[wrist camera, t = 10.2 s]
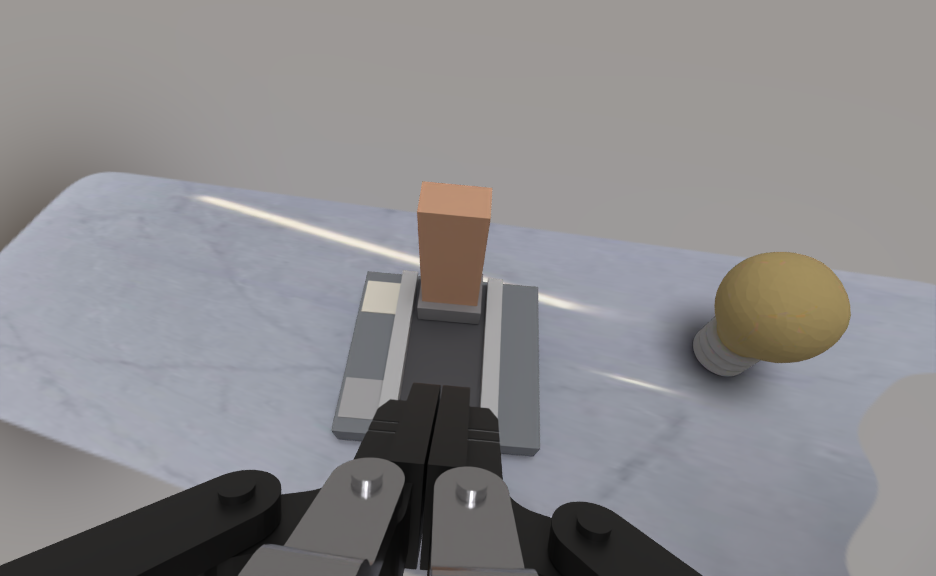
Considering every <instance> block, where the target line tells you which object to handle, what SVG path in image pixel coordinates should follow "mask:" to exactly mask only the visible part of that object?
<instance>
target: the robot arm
mask: <svg viewBox="0 0 936 576" xmlns="http://www.w3.org/2000/svg"><path fill="white" fill-rule="evenodd" d="M440 395H441V398H440ZM469 405H470V388H469V387H459V386H448V385H443V388H442V393H441V385H436V384H425V383H414V382H413V384H412V387H411V390H410V392H409V395H408V398H407V401H404V400H394V399H390V400H389V401H387V402H386V403H384V404H383V405H382V406H380V407H379V408H378V409H377V411H376V413H375V415H374V417H373V420H372V422H371V424H370V426H369V428H368V431H367V432H366V434H365V436H364V439H363V441H362V443H361V445H360V447H359V449H358V451H357V453H356V456H355V458H354V460H351V461H348V462H346V463H344V464H342V465H340V466H339V467H337V468H336V469H335V470H334V471H333V472H332V474H331V475H330V476H329V478H328V479H327V481H326V482H325V484H324V486H323V487H322V488H320V489H316V490H312V491H306V492H298V493H290V494H282V495H281V484H280V481H279V480H278V479H277V478H276V477H275V476H274V475H272V474H270V473H268V472H264V471H259V470H242V471H236V472H231V473H228V474H225V475H222V476H219V477H217V478H214V479H212V480H209V481H207V482H204V483H202V484H199V485H197V486H194V487H192V488H190V489H187V490H185V491H182V492H180V493H177V494H175V495H172V496H170V497H167V498H165V499H163V500H160V501H158V502H155V503H153V504H151V505H148V506H145V507H143V508H140V509H138V510H136V511H133V512H131V513H128V514H126V515H123V516H121V517H119V518H116V519H113V520H111V521H109V522H106V523H104V524H101V525H99V526H96V527H94V528H91V529H89V530H86V531H84V532H82V533H79V534H77V535H74V536H72V537H69V538H67V539H64V540H62V541H60V542H57V543H55V544H52V545H50V546H47V547H45V548H42V549H40V550H37V551H35V552H32V553H30V554H28V555H25V556H23V557H20V558H18V559H16V560H13V561H11V562H8V563H6V564H3V565H1V566H0V576H403V573H404V568H407V569H417V563H418V557H419V551H420V545H421V539H422V547H421V560H420V570H428V571H427V576H702V575H701V574H700V573H698V572H697V571H695V570H694V569H693V568H691V567H690V566H688V565H687V564H686V563H684V562H683V561H681V560H680V559H679V558H677V557H676V556H675V555H673V554H672V553H670V552H669V551H668V550H666V549H665V548H663V547H662V546H661V545H659V544H658V543H656V542H655V541H654V540H652V539H651V538H649V537H648V536H647V535H645V534H644V533H643V532H641V531H640V530H638V529H637V528H636V527H634V526H633V525H631V524H630V523H629V522H627V521H626V520H624V519H623V518H622V517H620V516H619V515H617V514H616V513H614V512H613V511H611V510H609V509H607V508H605V507H602V506H600V505H597V504H593V503H588V502H570V503H566V504H564V505H562V506H560V507H558V508H557V509H556V510H555V512H554V513H553V516H552V518H550V517H547V516H544V515H541V514H538V513H535V512H533V511H530V510H528V509H526V508H524V507H522V506H521V505H519V504H518V503H516V502H515V501H514V500H513V499H512V498H511V497H510V495H509V490H508V487H507V485H506V484H505V482H504V481H503V477H502V464H501V451H500V438H499V424H498V418H497V417H496V416H495V415H494V413H493V412H492V411H491V410H490V409H489V408H481V407H471V406H469ZM422 533H423V534H422Z"/></svg>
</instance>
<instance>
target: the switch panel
mask: <svg viewBox="0 0 936 576" xmlns="http://www.w3.org/2000/svg"><path fill="white" fill-rule="evenodd" d="M420 286H421V276H418V272H415V271H404V270H403V274H402V275H401V274H390V273H379V272H369V271H368V272H367V276H366V281H365V285H364V290H363V294H362V298H361V303H360V307H359V311H358V316H357V320H356V325H355V329H354V333H353V338H352V342H351V346H350V351H349V355H348V360H347V364H346V368H345V373H344V377H343V381H342V386H341V390H340V395H339V399H338V403H337V408H336V412H335V416H334V421H333V425H332V430H331V431H332V432H333V433H334V435H335V436H336V437H337V439H344V440H355V441H363V439H364V436H365V434H366V432H367V431H368V428H369V426H370V424H371V422H372V420H373V417H374V415H375V413H376V411H377V409H378V408H379V407H380V406H382V405H383V404H384V403H386V402H387V401H389V400H390V399H394V400H404V401H407V398H408V395H409V392H410V390H411V387H412V384H413V382H414V383H425V384H436V385H441V393H442V388H443V385H448V386H459V387H469V388H470V405H469V406H471V407H481V408H489V409H490V410H491V411H492V412H493V413H494V415H495V416H496V417H497V418H498V424H499V438H500V451H501V453H503V454H514V455H525V456H534V455H535V454H536V453H537V452H538V451H539V449H540V413H539V325H538V287H531V286H520V285H509V284H503V280H502V279H491V278H488V282H483V284H482V299H481V314H480V320H479V324H469V323H458V322H447V321H436V320H425V319H418V311H417V306H418V299H419V293H420ZM440 398H441V395H440Z"/></svg>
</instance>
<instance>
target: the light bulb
mask: <svg viewBox="0 0 936 576" xmlns="http://www.w3.org/2000/svg"><path fill="white" fill-rule="evenodd" d="M850 316H851V314H850V303H849V299H848V295H847V293H846V291H845V289H844V287H843V285H842V283H841V281H840V280H839V278H838V277H837V276H836V275H835V274H834V272H833V271H832V270H831V269H830V268H828V267H827V266H826V265H824V263H822V262H820V261H817V260H816V259H814V258H811V257H808V256H806V255H801V254H796V253H790V252H771V253H764V254H759V255H756V256H753V257H750V258H748V259H746V260H744V261H742V262H740V263H739V264H737V265H736V266H735V267H734V268H732V269H731V270H730V271H729V272H728V273H727V274H726V276H725V277H724V278H723V280H722V282H721V284H720V286H719V288H718V290H717V294H716V298H715V317H714V318H713V319H712V320H711V321H710V322H709V323H707V324H706V325H705V326H704V327H703V328H702V329H701V330H700V331H699V332H698V333H697V334H696V336H695V338H694V341H693V349H694V353H695V355H696V357H697V359H698V360H699V362H700V363H701V364H702V365H703V366H704V367H705V368H706V369H708V370H709V371H711V372H712V373H715V374H717V375H720V376H735V375H738V374H740V373H742V372H743V371H744V370H746V369H748V368H750V367H751V366H753V365H754V364H756V363H757V362H759V361H760V360H762V361H767V362H774V363H791V362H799V361H803V360H807V359H810V358H813V357H815V356H817V355H819V354H821V353H823V352H825V351H826V350H828V349H829V348H830V347H832V346H833V345H834V344H835V343H836V342H838V340H839V339H840V338H841V336H842V335H843V334H844V332H845V331H846V329H847V327H848V325H849V320H850Z"/></svg>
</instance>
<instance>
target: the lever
mask: <svg viewBox="0 0 936 576" xmlns="http://www.w3.org/2000/svg"><path fill="white" fill-rule="evenodd" d="M491 201H492V188H486V187H476V186H465V185H454V184H444V183H433V182H422V187H421V193H420V198H419V204H418V211H417V218H418V236H419V253H420V271H421V286H420V293H419V299H418V306H417V311H418V319H425V320H436V321H447V322H458V323H469V324H479V320H480V314H481V299H482V284H483V274H482V271H483V264H484V258H485V251H486V245H487V238H488V232H489V225H490V218H491Z"/></svg>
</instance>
